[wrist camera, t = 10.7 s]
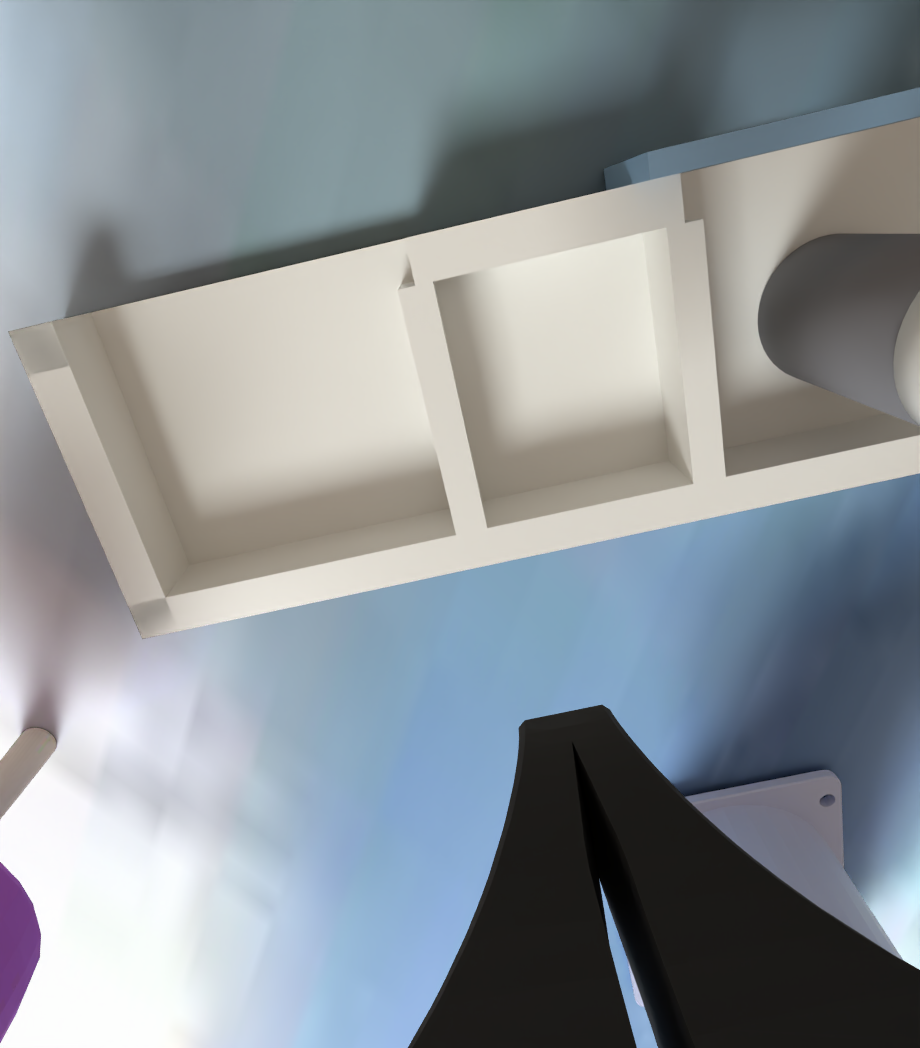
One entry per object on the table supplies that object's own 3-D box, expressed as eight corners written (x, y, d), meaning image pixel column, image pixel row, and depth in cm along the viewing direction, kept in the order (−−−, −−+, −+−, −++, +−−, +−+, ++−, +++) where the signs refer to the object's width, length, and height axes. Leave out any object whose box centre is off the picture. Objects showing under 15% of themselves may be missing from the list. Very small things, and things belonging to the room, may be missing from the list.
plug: (898, 368, 19) (1139, 437, 13) (757, 394, 19) (926, 476, 13) (904, 218, 18) (1178, 209, 11) (753, 247, 18) (939, 255, 11)
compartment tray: (1000, 415, 20) (1123, 454, 17) (175, 593, 22) (122, 666, 18) (1020, 70, 17) (1176, 26, 14) (55, 298, 18) (-38, 314, 15)
